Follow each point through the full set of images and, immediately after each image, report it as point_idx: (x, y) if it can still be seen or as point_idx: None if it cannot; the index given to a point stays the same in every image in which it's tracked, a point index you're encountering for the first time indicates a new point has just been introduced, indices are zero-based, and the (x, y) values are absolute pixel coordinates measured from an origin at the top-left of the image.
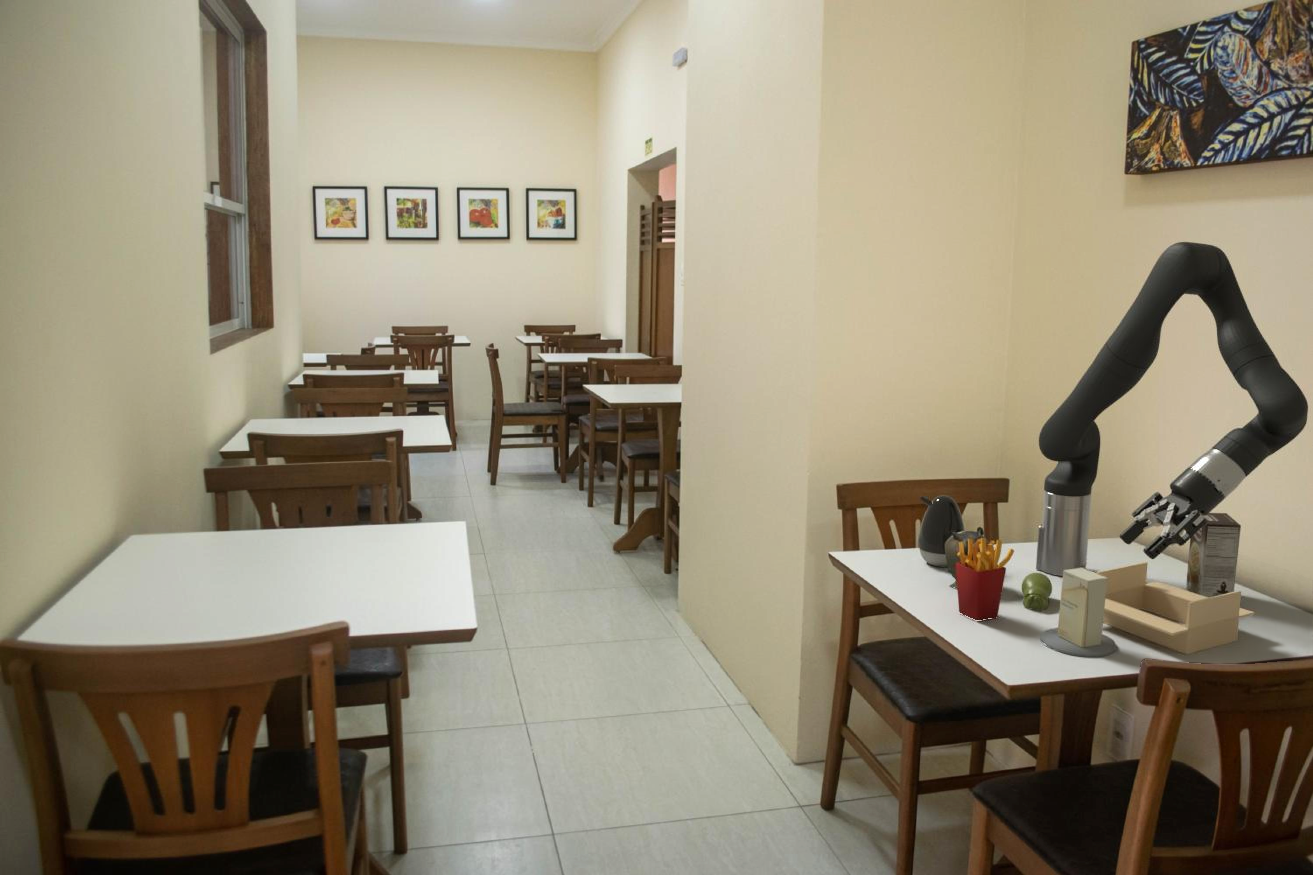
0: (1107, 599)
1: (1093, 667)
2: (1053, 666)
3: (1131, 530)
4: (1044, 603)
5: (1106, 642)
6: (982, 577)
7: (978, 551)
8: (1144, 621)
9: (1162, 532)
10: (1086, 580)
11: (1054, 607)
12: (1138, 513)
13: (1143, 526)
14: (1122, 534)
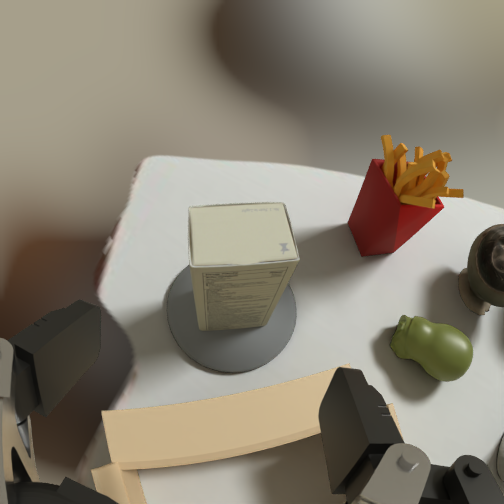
0: None
1: (137, 266)
2: (164, 219)
3: (346, 416)
4: (399, 346)
5: (207, 348)
6: (372, 173)
7: (496, 253)
8: (179, 411)
9: (8, 359)
10: (195, 206)
11: (400, 373)
12: (453, 489)
13: (349, 493)
14: (347, 372)
